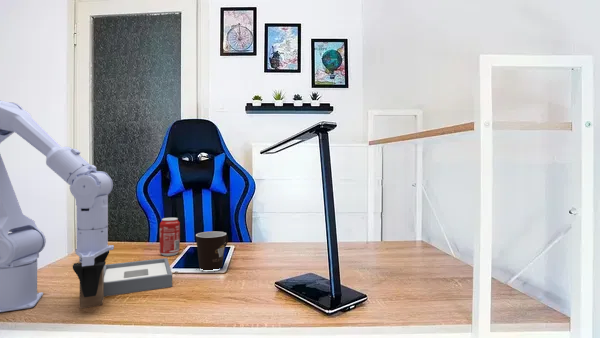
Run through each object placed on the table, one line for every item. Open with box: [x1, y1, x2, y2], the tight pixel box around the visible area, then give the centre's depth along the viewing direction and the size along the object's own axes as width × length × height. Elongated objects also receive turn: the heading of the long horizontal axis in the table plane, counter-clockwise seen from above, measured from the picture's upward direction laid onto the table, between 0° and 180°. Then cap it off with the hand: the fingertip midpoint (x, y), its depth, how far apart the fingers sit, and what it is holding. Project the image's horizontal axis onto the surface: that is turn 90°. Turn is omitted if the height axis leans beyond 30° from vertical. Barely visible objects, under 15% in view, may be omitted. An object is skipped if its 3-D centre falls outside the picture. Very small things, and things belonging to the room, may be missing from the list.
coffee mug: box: [195, 230, 229, 270], centre depth 96 cm, size 12×9×10 cm
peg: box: [78, 267, 105, 309], centre depth 70 cm, size 4×4×8 cm
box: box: [104, 257, 173, 297], centre depth 84 cm, size 16×16×3 cm
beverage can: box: [159, 217, 181, 257], centre depth 110 cm, size 6×6×12 cm
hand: (92, 290), depth 70 cm, fingers open, 7 cm apart
